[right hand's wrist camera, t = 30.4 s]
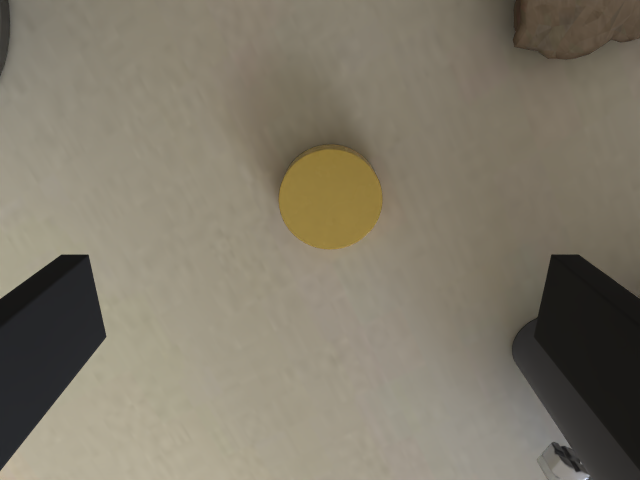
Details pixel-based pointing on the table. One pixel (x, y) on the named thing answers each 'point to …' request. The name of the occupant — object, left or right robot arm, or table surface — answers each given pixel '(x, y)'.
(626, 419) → the right robot arm
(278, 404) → the table surface
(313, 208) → the lid
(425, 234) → the table surface
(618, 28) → the stone
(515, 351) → the jar
